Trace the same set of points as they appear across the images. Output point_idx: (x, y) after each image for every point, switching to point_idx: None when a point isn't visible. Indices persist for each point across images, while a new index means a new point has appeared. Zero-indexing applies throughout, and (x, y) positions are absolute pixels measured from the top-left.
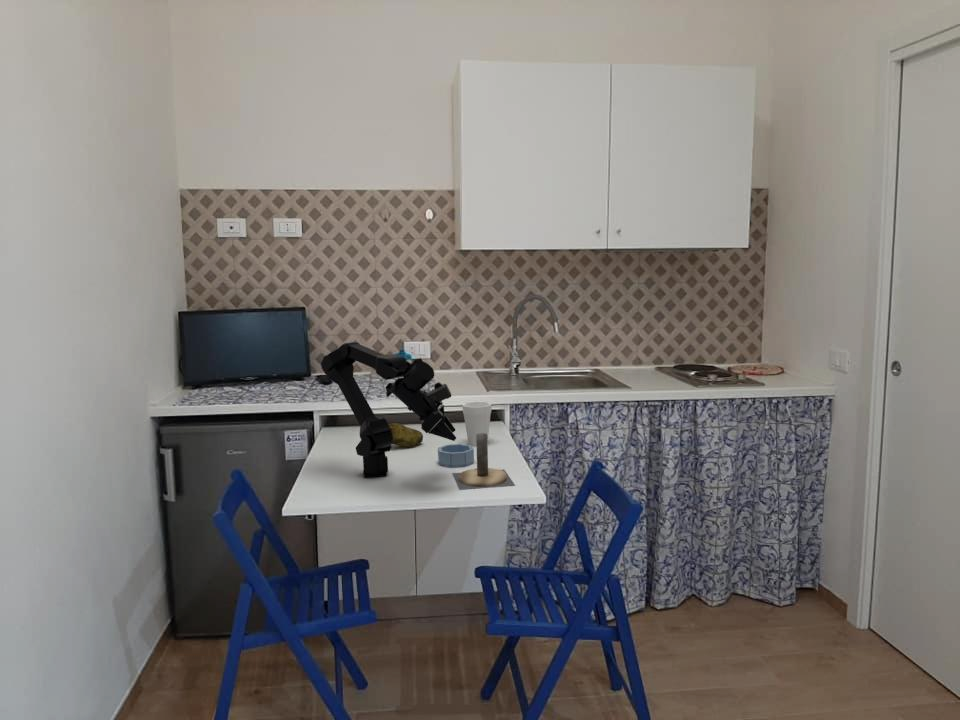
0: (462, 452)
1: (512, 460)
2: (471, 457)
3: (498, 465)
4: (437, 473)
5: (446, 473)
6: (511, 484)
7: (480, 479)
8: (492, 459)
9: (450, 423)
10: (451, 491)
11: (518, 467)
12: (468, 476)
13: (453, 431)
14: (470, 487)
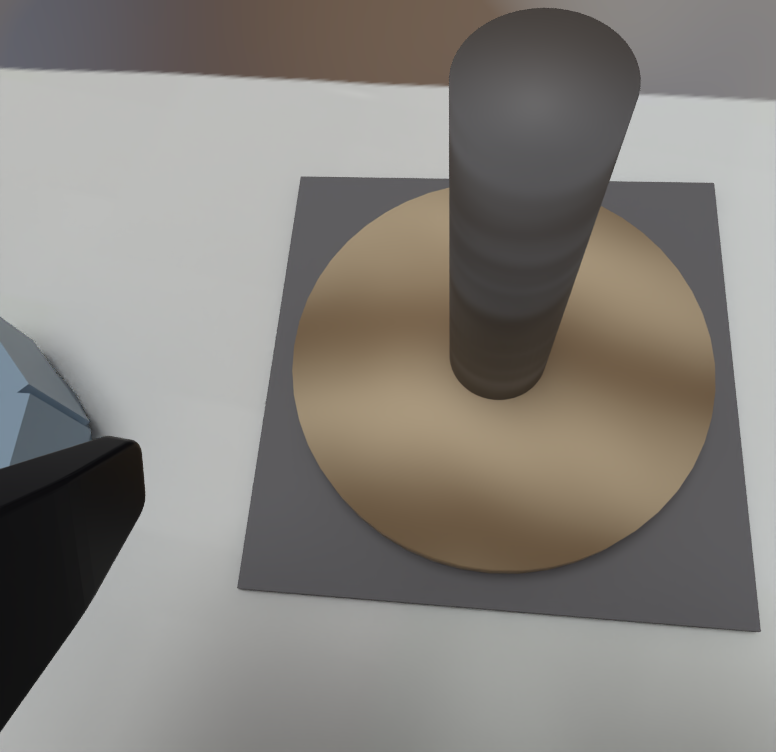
0: (13, 412)
1: (97, 92)
2: (26, 346)
3: (165, 194)
4: (154, 727)
5: (191, 636)
6: (683, 201)
7: (624, 398)
8: (4, 203)
9: (5, 521)
10: (754, 712)
11: (269, 89)
12: (507, 481)
13: (139, 493)
14: (704, 515)
